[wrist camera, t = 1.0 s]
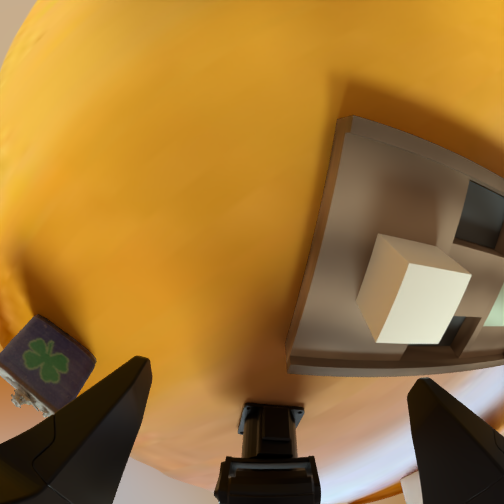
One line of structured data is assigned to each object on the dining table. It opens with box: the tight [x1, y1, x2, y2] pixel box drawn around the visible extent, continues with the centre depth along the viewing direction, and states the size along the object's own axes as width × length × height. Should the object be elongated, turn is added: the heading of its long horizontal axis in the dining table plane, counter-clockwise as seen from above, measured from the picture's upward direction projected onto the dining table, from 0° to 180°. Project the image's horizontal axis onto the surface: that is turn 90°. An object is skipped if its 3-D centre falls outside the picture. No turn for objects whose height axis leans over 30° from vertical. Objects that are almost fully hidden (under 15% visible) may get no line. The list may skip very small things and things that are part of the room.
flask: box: [0, 315, 96, 417], centre depth 20 cm, size 9×3×11 cm, turn 54°
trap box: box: [285, 115, 504, 377], centre depth 18 cm, size 18×28×4 cm, turn 81°
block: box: [356, 233, 472, 344], centre depth 15 cm, size 5×5×4 cm
